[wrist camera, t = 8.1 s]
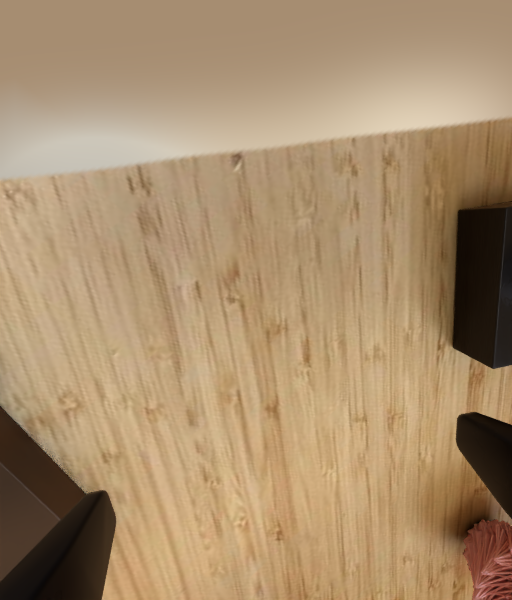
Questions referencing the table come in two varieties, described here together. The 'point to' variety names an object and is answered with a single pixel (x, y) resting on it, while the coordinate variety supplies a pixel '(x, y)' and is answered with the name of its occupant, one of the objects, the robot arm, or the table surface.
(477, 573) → the flower
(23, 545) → the button block
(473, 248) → the panel
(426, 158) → the table surface
